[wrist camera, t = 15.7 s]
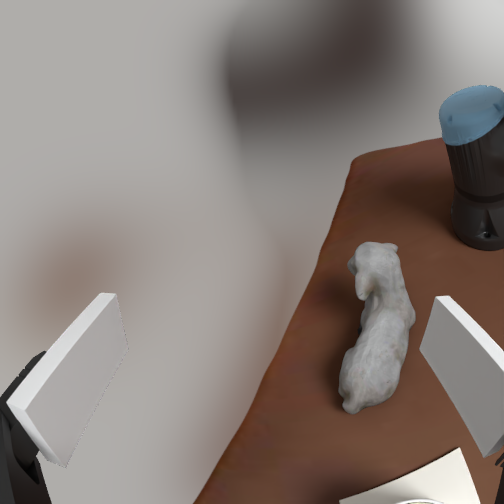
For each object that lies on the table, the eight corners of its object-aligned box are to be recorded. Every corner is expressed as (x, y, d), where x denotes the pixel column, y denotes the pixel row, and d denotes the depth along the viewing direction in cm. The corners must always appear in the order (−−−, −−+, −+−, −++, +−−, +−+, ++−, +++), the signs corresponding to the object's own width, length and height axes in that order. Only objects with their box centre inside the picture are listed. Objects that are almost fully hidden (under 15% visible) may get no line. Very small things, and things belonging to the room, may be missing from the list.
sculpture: (414, 285, 44) (393, 216, 36) (415, 414, 30) (400, 378, 22) (353, 296, 50) (318, 236, 42) (338, 417, 36) (291, 383, 28)
